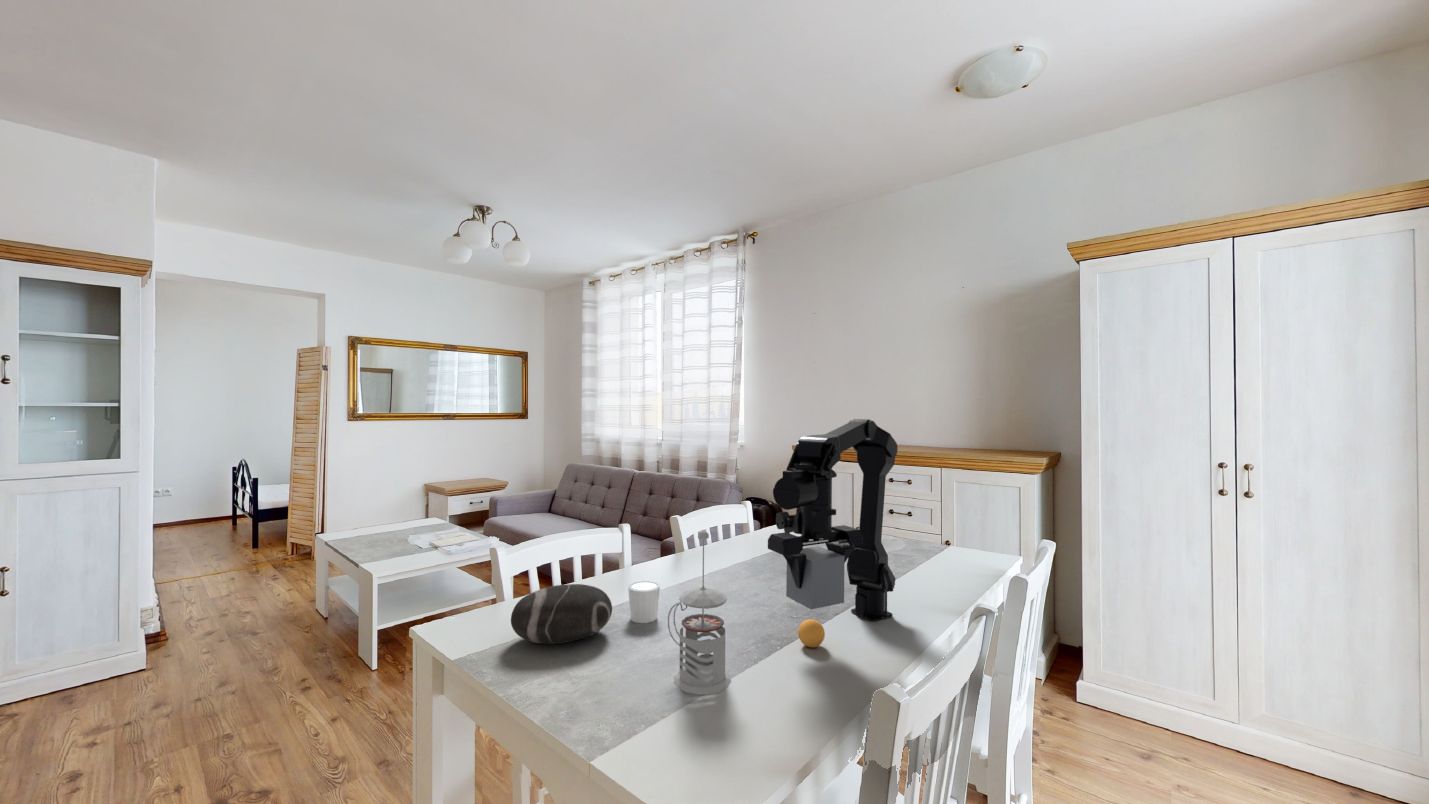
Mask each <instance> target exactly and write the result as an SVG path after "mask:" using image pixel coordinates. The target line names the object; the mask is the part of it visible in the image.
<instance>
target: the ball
mask: <svg viewBox="0 0 1429 804" xmlns="http://www.w3.org/2000/svg"><path fill="white" fill-rule="evenodd" d="M825 633H826V632H825V629H824V626H823V625H822V624H821V622H819V620H816V619H805V620H804V621H802V622H801V623H800V624H799V627H798V631H797V635H798V639H799V640H800V642H801V643H802V644H803V645H805V646H806V647H807V648H816V647H818V646H820V645H821V644H822V643H823V642H824V640H825V636H826V635H825Z"/></svg>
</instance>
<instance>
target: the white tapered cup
mask: <svg viewBox="0 0 1429 804" xmlns="http://www.w3.org/2000/svg"><path fill="white" fill-rule="evenodd" d="M627 588H628V601H629V603H628V604H629V612H630V615H629V616H630V620H631V621H632V622H634V623H638V624H647V623H652V622H655V621H656V620H657V619H658V611H659V600H660V590H661V589H660V588H661V584H659V583H658V582H654V581H650V580H649V581H647V580H645V581H644V580H643V581H636V582H632V583H631V584H629V585H628V587H627Z"/></svg>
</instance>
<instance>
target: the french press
mask: <svg viewBox="0 0 1429 804" xmlns="http://www.w3.org/2000/svg"><path fill="white" fill-rule="evenodd" d="M697 538H698V539H701V540H702V586H695V587H693V588H690V589H688V590H686V591H684V592H682V594H680V595H679V597H678V600H679V602H677V603H675V604H673V605H672V606H671V607H670V609H669V612H668V614H667V629H668V631H669V634H670V635H669V636H670V637H671V639H672V640H673V642H674V643H675V644H676V645H678V646H679V671H678V672H677V673H676V674H674V676H673V684H674V686H676V688H677V689H679V690H681V691H683V692H685V693H688V694H689V693H690V694H694V695H711V694H715V693H719V692H722V691H724V690H725V689H727V688H728V687H729V686H730V685H731V683H732V676H731V675H730V674H729V673H728V672H727V671H726V628H725V627H724V625H725V623H724V622H725V621H724V619H723V618H722V617H720V616H717V615H715V614H708V613H704V610H705V609H714V608H718V607H720V606H723V605H724V604H726V602H727V601H728V597H727V595H725V594H724V593H723V592H721V591H720V590H718V589H716V588H714V587H710V586H704V585H705V540H706V539H709V538H710V535H709V532H708V531H707V530H700V531H699V532H698V534H697ZM683 605H684V606H685V607H684V608H683ZM678 606H680V611H681V612H684V611H685V610H687V609H688V607H690V608H693V609H694V608H695V609H702V610H701V611H702V612H701V613H698V614H697V613H695V614H691V615H687V616H685V617H684V618H682V620H681V625H682V627H681V628H680V629H679V632H678V629H677V627H676V625H677V624H676V621H675V620H676V610H677V609H678ZM673 609H674V610H673ZM672 611H673V625H674V631H675V633H676V634H677V636H678V637H679V642H678V641H677V640H676V639H675V637H674V636H673V635H672V631H671V628H670V615H671V613H672ZM684 629H685V636H684ZM714 632H716V633H717V634H718V635H719V636H718V635H717V634H716V633H714ZM698 633H699V634H698ZM708 636H709V637H712V639H711V638H706V639H702V640H700V638H702V637H708ZM684 644H685V646H684ZM684 652H685V653H684ZM712 653H713V654H712ZM698 654H700V655H698ZM724 688H725V689H724Z"/></svg>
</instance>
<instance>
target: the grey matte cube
mask: <svg viewBox="0 0 1429 804" xmlns="http://www.w3.org/2000/svg"><path fill="white" fill-rule="evenodd" d="M801 553H803V554H805V555H806V562H805V569H804V577H803V583H802V587H801V588H800V589H799V588H797V587H796V585H795V582H794V579H793V576H792V573H791V570H790V567H789V565H788V563H787V562H786V585H785V586H786V587H785V588H786V590H785V591H786V597H787V598H789V599H791V600H793V601H795V602H796V603H798V604H800V605H802V606H804V607H806V608H807V609H810V610H815V609H820V608H824V607H825V608H826V607H831V606H835V605H839V604H844V603H845V564H844V559H845V556H844V555H841V554H838V553H835V552H833V551H830V550H828V549H826V548H824V547H822V546H818V545H816V546H812V547H805V548H804V547H803V550H802V551H801Z"/></svg>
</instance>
